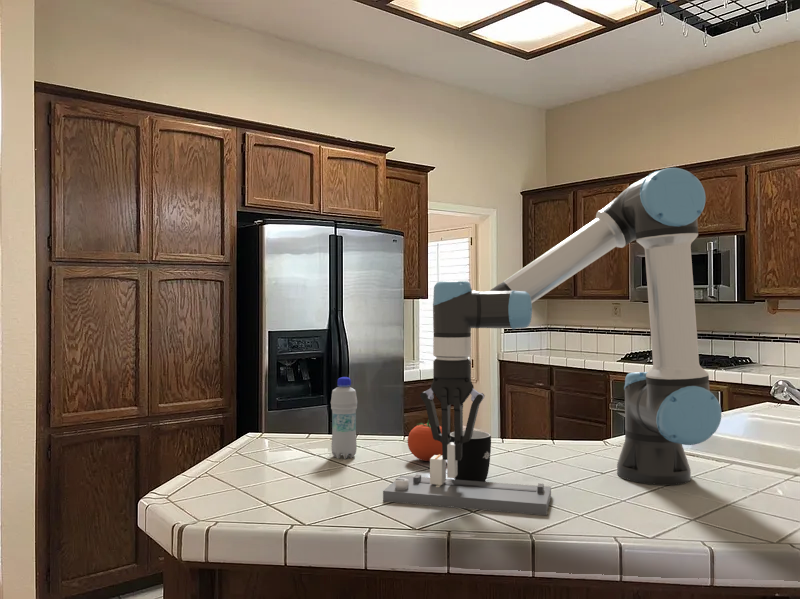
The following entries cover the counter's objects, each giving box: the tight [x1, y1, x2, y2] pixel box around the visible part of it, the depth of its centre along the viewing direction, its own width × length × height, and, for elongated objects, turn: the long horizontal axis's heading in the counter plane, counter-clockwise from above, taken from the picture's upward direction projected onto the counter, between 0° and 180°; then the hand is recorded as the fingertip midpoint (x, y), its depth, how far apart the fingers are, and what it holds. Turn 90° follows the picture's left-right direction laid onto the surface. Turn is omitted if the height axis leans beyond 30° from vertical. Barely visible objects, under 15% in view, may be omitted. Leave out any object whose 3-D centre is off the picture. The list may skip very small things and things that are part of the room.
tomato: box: [406, 419, 442, 462], centre depth 162 cm, size 10×10×10 cm
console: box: [382, 474, 552, 516], centre depth 130 cm, size 31×12×4 cm, turn 73°
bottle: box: [330, 376, 358, 460], centre depth 166 cm, size 7×7×20 cm
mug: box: [450, 430, 492, 482], centre depth 144 cm, size 12×9×10 cm
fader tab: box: [429, 454, 447, 485], centre depth 134 cm, size 2×4×5 cm, turn 163°
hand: (452, 476), depth 133 cm, fingers closed
